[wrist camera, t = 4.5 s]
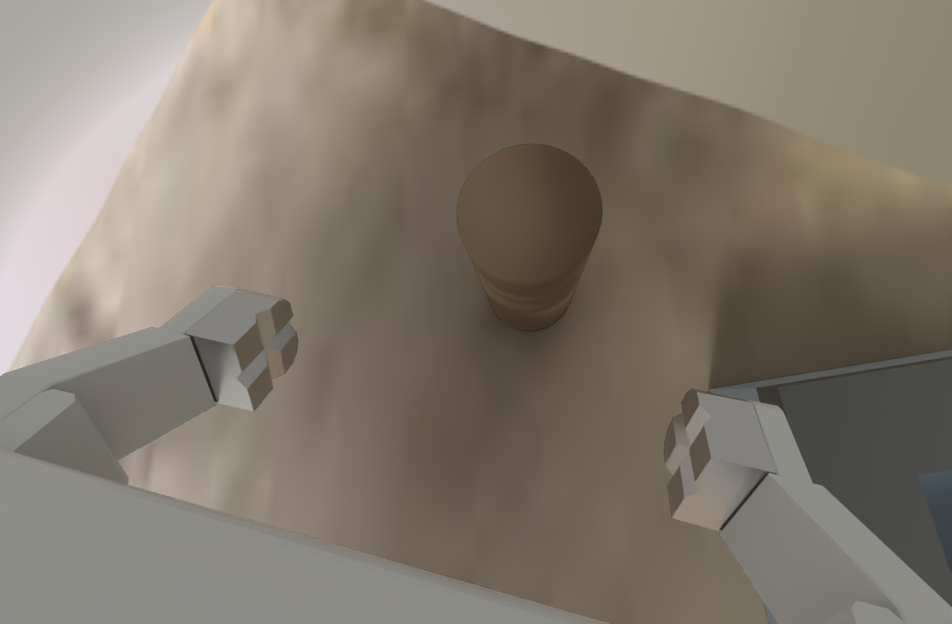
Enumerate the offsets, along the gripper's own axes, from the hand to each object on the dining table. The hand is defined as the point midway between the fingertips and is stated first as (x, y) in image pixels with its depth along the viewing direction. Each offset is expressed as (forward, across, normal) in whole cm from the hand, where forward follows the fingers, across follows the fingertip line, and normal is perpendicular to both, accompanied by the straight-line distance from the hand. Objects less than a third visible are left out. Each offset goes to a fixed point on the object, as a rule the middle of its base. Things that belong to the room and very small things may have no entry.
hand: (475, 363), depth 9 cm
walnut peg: (+12, 0, -6) cm, 14 cm away
